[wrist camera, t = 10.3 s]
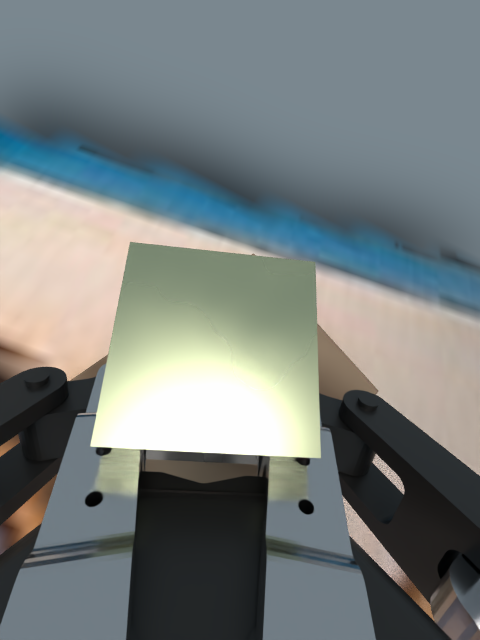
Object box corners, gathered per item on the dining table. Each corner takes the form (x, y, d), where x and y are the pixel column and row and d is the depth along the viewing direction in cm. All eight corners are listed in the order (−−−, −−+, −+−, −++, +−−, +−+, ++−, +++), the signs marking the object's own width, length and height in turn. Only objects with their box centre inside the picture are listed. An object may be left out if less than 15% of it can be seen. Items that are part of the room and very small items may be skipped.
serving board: (251, 262, 29) (253, 253, 28) (369, 393, 26) (378, 390, 25) (43, 407, 23) (33, 406, 22) (167, 594, 21) (164, 606, 19)
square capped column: (161, 351, 19) (86, 192, 6) (257, 358, 19) (359, 225, 7) (146, 456, 17) (-1, 520, 4) (254, 462, 17) (386, 531, 5)
